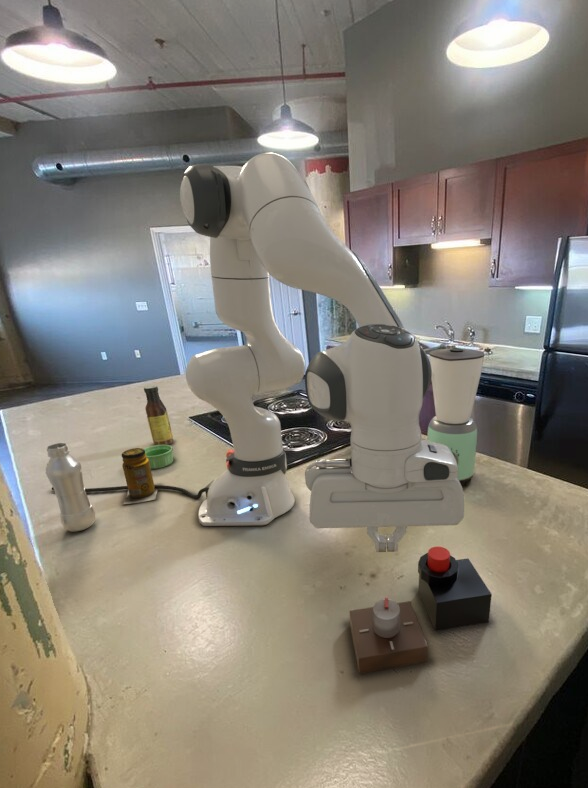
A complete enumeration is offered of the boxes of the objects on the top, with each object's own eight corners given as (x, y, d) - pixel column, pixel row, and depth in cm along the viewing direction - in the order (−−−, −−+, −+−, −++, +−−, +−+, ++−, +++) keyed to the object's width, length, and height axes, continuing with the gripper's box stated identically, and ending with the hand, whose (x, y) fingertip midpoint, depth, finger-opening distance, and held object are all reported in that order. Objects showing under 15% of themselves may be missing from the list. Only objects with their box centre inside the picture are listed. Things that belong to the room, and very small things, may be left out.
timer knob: (400, 638, 60) (400, 618, 59) (372, 637, 61) (372, 617, 59) (399, 617, 64) (399, 597, 63) (373, 616, 64) (373, 597, 63)
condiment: (158, 485, 113) (149, 444, 109) (155, 500, 106) (145, 457, 101) (128, 490, 111) (118, 448, 107) (123, 505, 103) (111, 461, 99)
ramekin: (135, 467, 124) (132, 453, 123) (160, 455, 132) (157, 442, 130) (158, 471, 121) (155, 458, 119) (181, 459, 129) (179, 446, 127)
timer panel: (359, 674, 59) (358, 657, 57) (349, 624, 67) (349, 609, 66) (427, 661, 60) (427, 645, 59) (409, 615, 69) (410, 600, 67)
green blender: (469, 494, 105) (480, 356, 93) (418, 486, 110) (421, 353, 97) (479, 464, 122) (489, 343, 109) (434, 458, 126) (439, 341, 114)
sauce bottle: (177, 442, 142) (166, 385, 135) (160, 448, 137) (148, 390, 130) (166, 438, 146) (154, 383, 139) (149, 444, 141) (136, 387, 134)
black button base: (430, 632, 65) (432, 594, 63) (413, 589, 74) (414, 554, 72) (488, 622, 67) (492, 584, 64) (464, 581, 76) (467, 547, 73)
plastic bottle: (62, 538, 91) (34, 454, 84) (66, 523, 96) (41, 443, 89) (96, 530, 93) (72, 448, 86) (99, 516, 99) (76, 438, 92)
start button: (431, 574, 67) (432, 561, 66) (424, 560, 71) (425, 547, 70) (452, 571, 68) (453, 558, 67) (444, 557, 71) (445, 545, 70)
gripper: (300, 471, 50) (308, 566, 54) (471, 467, 50) (464, 562, 55) (306, 450, 55) (313, 537, 60) (459, 446, 56) (454, 534, 60)
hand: (386, 549), depth 57 cm, fingers closed
